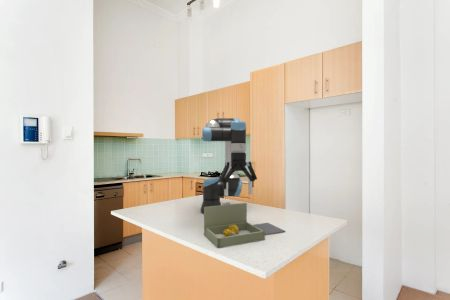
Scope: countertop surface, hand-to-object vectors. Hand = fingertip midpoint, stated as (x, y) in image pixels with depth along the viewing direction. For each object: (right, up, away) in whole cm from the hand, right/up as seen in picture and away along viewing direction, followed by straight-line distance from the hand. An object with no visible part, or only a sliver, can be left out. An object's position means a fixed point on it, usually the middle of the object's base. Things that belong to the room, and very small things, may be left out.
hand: (238, 194), depth 122 cm
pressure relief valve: (-1, -21, -3) cm, 21 cm away
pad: (+16, -20, +10) cm, 28 cm away
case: (-2, -20, -3) cm, 21 cm away
